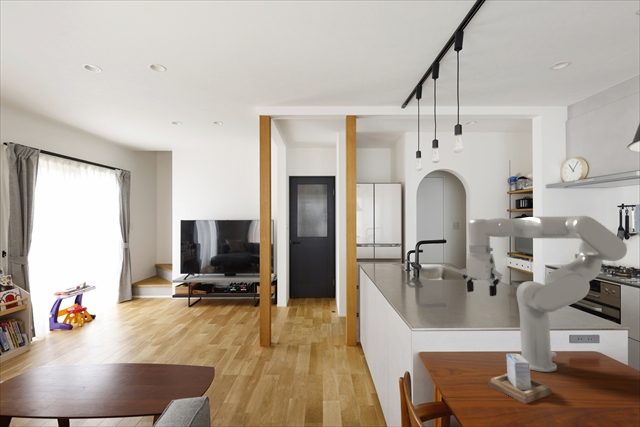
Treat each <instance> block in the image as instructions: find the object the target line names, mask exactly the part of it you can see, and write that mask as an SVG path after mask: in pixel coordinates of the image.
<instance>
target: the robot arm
mask: <svg viewBox="0 0 640 427" xmlns="http://www.w3.org/2000/svg"><path fill="white" fill-rule="evenodd" d="M467 225H468V226H467V227H468V228H467V230H468V247H469V250H468V252H469V253H467V259H466V267H465V268H463V269H461V270H460V272H461V275H462V278H463V279H464V281H465V282H466V289H467V292H468V293H472V292H474V291H475V290H474V288H475V287H474V285H475V284H474V279H475V280H476V279H477V280H482V281H483V280H484V281H487V282H488V283H489V284H490V285H489V286H488V289H489V290H488V291H489V296H490V297H496V296H497V286H498V285H499V283H501V282H502V281H501V280H502V279H503V276H504V275H503V274H502V273H501V272H499V271H497V270H496V263H495V262H496V261H495V258H494V255H493V254H492V253H491V252H493V251H494V248H493V247H491V239H490V237H492V238H506V237H507V238H508V237H510V238H511V237H512V238H515V237H516V238H527V239H579V240H580V239H581V242H580V244H579V249H578V254H577V255H578V256H577V257H576V259H575V260H573V261H571V262H570V263H568V264H566V265H564V266H561V267H559V268H557V269H554V270H552V271H550V272H549V273H548V274H546V275H545V278H544V279H543V280H544V284H542V283H540V282H537V281H531V280H529V281H524V282H522V283H520V284H519V285H518V287H517V289H516V300H517V305H518V312H519V328H520V330H519V331H520V349H521V351H520V353H521V356H522V357H523V358H524V359H525V360H526V361H527V362H529V365H530V371H531V370H532V371H537V372H543V373H544V372H545V373H549V372H550V373H552V372H555V371H557V370H558V368H557V364H556V363H555V362H553V360H552V359H553V358H556V357H557V352H555V351H552V350H551V347H552V346H551V329H550V325H551V324H550V316H549V315H550V313H553V312H557V311H559V310H561V309H564V308H566V307H568V306H570V305H572V304H575V303H576V302H577V303H578V301H581V300H582V299H584V298H586V296H587V295H588V293H589V291H590V290H591V289H590V288H591V285H590V282H591V281H593V280H594V279H596V278H598V276H599V274H600V272H601V270H602V265H603V261H607V262H617V261H620V260H622V259H623V258H624V257H625V256H626V255H627V251H628V249H627V245H626V243H625V242H624V241H623V240H622V239H621V237H620V236H618V235H616V234H615V233H614V232H612V231H611V230H610V229H609V228H607V227H606V226H605V225H603V224H602V223H600V222H599V221H598V220H596V219H595V218H593V217H591V216H588V215H575V216H574V215H571V216H570V215H569V216H568V215H567V216H566V215H565V216H562V215H561V216H528V217H521V218H503V217H497V218H490V219H485V218H477V219H476V218H475V219H470V220H469V221H468V223H467Z"/></svg>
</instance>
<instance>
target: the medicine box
mask: <svg viewBox="0 0 640 427" xmlns="http://www.w3.org/2000/svg"><path fill="white" fill-rule="evenodd" d="M505 357H506V374H507V376H508V379H509V381H510V382H511V383H512V384H513V386H514V387H515V388H516V389H519V390H530V389H531V379H532V378H531V369H530V365H529V362H527V361H526V360H525V359H524V358H523V357H522V354H520V353H506V356H505Z"/></svg>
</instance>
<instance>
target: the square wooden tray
mask: <svg viewBox="0 0 640 427" xmlns="http://www.w3.org/2000/svg"><path fill="white" fill-rule="evenodd" d="M530 379H531V389H530V390H519V389H516V388H515V387H514V386H513V384H512V383H511V382H510V381H509V379H508V376H507V373H505V374H502V375H499V376H495V377H492V378H490V380H489V381H487V386H488V387H489V386H490V387H489V388H491V387H492V388H491V389H493V388H494V389H493V390H495V389H496V391H497V390H499V391H498V392H500V391H501V392H500V393H502V392H503V393H502V394H504V393H505V394H504V395H506V394H507V395H506V396H508V395H509V397H510V396H511V397H510V398H512V397H513V398H512V399H514V398H515V399H514V400H516V399H517V401H518V402H521V403H522V404H528V403H531V402H534V401H536V400H540V399H541V398H544V397H548V396H549V395H552V388H550V387H549V385H548V384H545V383H542V382H540V381H538V380H535V379H532V378H530Z"/></svg>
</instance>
